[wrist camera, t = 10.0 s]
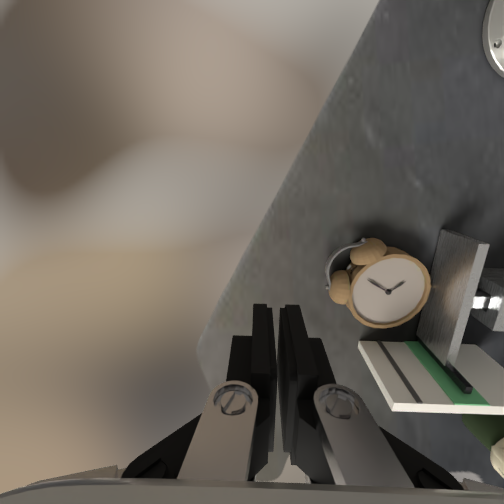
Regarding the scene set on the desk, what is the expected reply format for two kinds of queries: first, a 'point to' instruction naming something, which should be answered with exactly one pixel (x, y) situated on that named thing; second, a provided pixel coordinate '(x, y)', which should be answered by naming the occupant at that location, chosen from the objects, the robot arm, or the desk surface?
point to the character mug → (489, 435)
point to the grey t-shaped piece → (452, 300)
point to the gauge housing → (500, 307)
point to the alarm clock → (379, 283)
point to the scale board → (434, 378)
